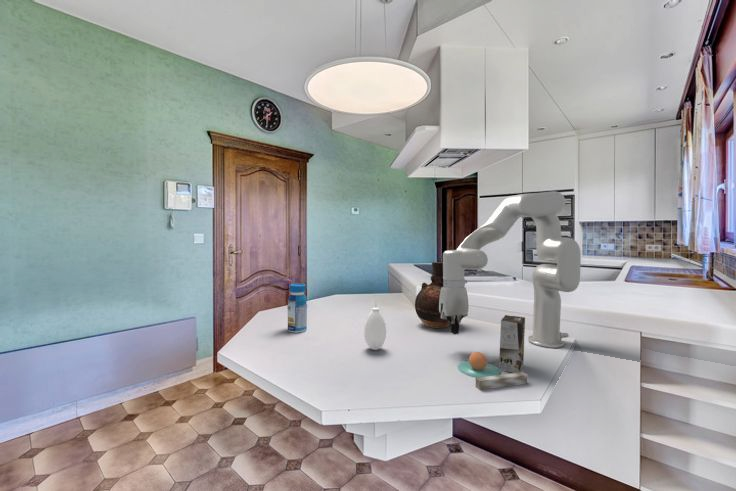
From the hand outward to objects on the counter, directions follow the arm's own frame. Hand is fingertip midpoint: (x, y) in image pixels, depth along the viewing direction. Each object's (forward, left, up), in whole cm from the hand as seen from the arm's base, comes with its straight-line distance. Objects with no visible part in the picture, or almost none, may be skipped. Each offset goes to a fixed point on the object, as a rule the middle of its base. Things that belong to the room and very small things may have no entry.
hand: (454, 333), depth 122 cm
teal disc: (+1, +17, -7) cm, 18 cm away
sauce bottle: (+28, -8, -7) cm, 30 cm away
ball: (+2, +17, -4) cm, 17 cm away
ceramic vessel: (-9, -30, -7) cm, 32 cm away
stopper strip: (+1, +28, -7) cm, 29 cm away
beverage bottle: (+54, -38, -7) cm, 67 cm away
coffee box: (-10, +18, -7) cm, 22 cm away
